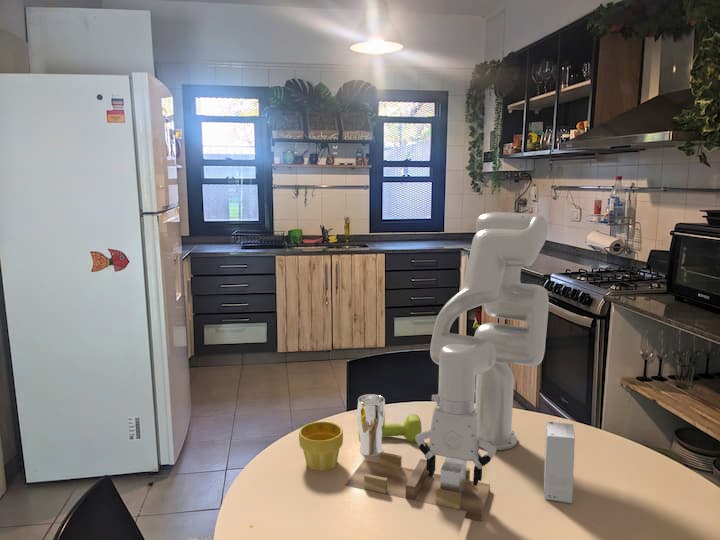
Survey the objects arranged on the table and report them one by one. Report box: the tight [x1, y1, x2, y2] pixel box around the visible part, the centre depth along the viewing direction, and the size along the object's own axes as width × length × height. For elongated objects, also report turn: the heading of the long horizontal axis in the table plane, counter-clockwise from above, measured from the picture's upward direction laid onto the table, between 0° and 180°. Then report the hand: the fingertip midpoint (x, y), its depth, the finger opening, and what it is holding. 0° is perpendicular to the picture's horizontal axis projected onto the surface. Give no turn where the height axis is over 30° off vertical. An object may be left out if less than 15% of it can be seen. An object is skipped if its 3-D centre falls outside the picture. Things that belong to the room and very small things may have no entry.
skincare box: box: [543, 421, 576, 505], centre depth 124 cm, size 8×6×15 cm
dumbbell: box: [358, 413, 423, 443], centre depth 147 cm, size 16×8×7 cm, turn 90°
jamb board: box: [344, 451, 491, 522], centre depth 125 cm, size 12×30×4 cm, turn 69°
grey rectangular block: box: [440, 457, 468, 496], centre depth 122 cm, size 8×4×7 cm, turn 159°
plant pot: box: [298, 420, 344, 471], centre depth 134 cm, size 10×10×10 cm
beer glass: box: [356, 393, 386, 457], centre depth 139 cm, size 7×7×15 cm
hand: (453, 478), depth 122 cm, fingers open, 9 cm apart
